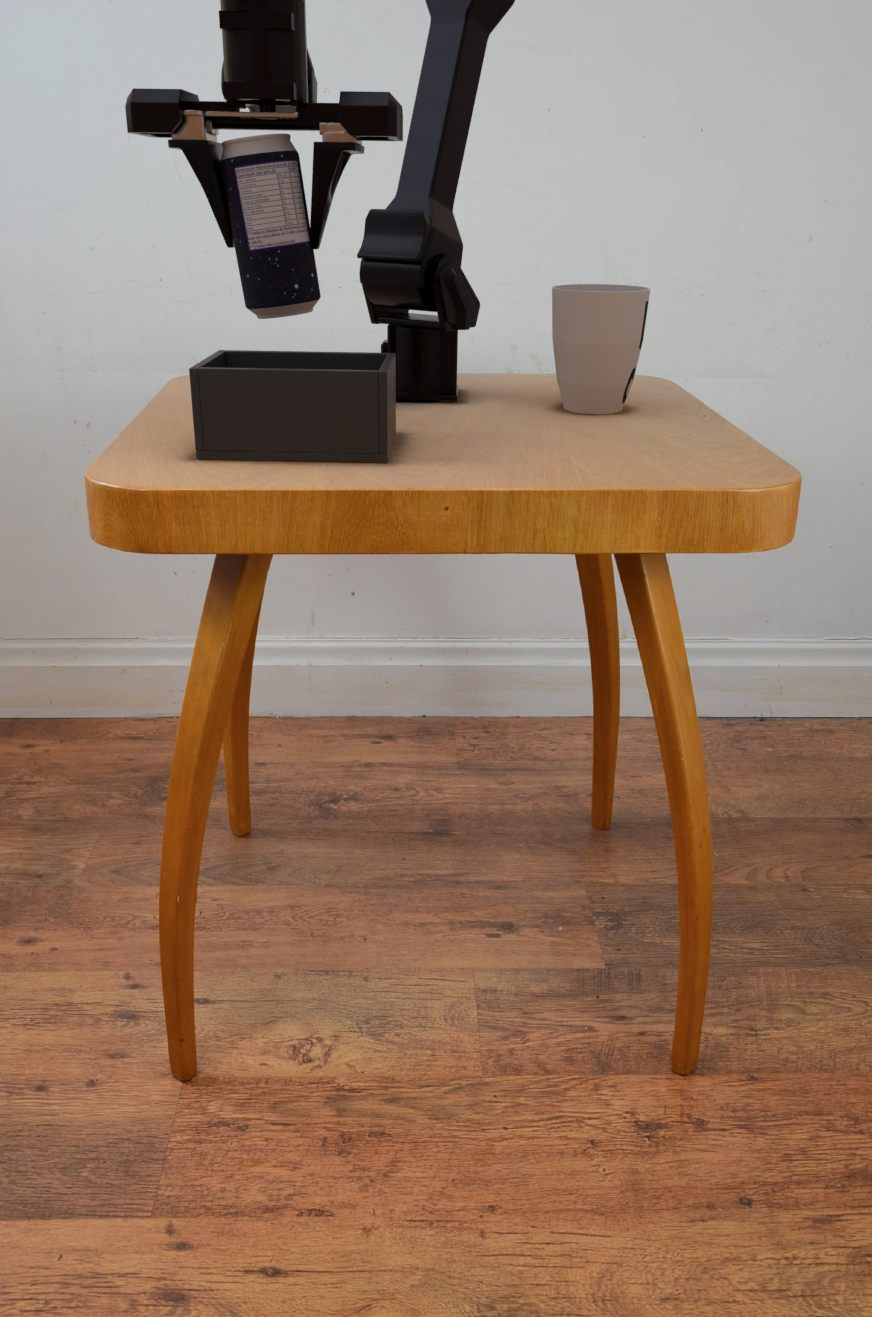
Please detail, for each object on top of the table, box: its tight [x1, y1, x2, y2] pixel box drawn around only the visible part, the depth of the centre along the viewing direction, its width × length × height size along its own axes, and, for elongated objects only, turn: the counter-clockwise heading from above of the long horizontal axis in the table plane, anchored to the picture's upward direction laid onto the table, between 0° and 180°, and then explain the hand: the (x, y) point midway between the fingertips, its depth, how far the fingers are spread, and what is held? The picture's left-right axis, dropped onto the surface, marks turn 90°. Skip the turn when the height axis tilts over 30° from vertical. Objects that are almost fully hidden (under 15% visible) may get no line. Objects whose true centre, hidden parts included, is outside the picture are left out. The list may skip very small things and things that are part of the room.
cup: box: [551, 283, 651, 415], centre depth 89 cm, size 8×8×10 cm
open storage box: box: [188, 349, 397, 464], centre depth 74 cm, size 13×9×6 cm
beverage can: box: [220, 133, 322, 320], centre depth 76 cm, size 6×6×12 cm
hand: (273, 248), depth 77 cm, fingers closed on beverage can, 6 cm apart
